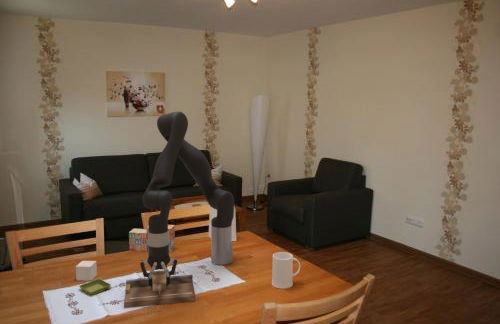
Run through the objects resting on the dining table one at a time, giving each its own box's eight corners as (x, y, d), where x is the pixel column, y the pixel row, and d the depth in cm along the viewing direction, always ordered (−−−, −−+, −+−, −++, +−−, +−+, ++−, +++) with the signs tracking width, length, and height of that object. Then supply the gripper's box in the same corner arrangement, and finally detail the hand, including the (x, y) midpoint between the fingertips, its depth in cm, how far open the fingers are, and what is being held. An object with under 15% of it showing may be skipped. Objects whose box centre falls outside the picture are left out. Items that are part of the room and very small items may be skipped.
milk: (208, 237, 216) (208, 190, 212) (228, 234, 220) (228, 188, 217) (215, 244, 205) (215, 194, 201) (236, 241, 209) (236, 193, 206)
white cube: (83, 274, 167) (82, 260, 167) (97, 274, 167) (96, 261, 166) (76, 280, 161) (75, 266, 161) (91, 280, 161) (90, 266, 160)
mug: (297, 278, 165) (298, 251, 164) (303, 287, 157) (304, 258, 155) (269, 280, 164) (270, 252, 162) (273, 289, 155) (274, 260, 154)
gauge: (166, 285, 153) (165, 270, 153) (166, 295, 145) (166, 280, 144) (152, 286, 152) (152, 271, 151) (152, 297, 144) (152, 281, 143)
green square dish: (99, 283, 160) (99, 278, 160) (111, 289, 155) (111, 284, 154) (78, 290, 153) (78, 285, 153) (90, 297, 148) (90, 292, 148)
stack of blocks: (129, 250, 195) (128, 226, 193) (134, 246, 201) (133, 222, 200) (171, 252, 193) (170, 228, 191) (175, 248, 199) (174, 224, 197)
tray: (192, 285, 158) (192, 274, 157) (195, 300, 146) (195, 289, 145) (126, 291, 153) (126, 279, 152) (123, 307, 140) (123, 295, 139)
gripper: (177, 238, 154) (178, 280, 156) (139, 240, 150) (140, 283, 153) (178, 245, 146) (179, 288, 149) (138, 247, 143) (139, 292, 146)
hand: (159, 285), depth 151 cm, fingers closed on gauge, 5 cm apart
